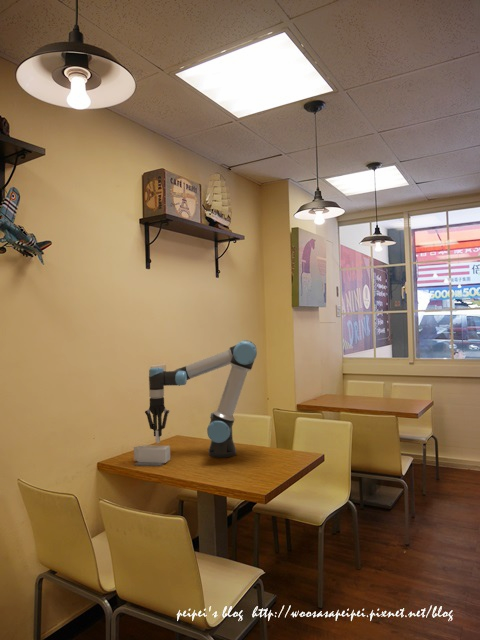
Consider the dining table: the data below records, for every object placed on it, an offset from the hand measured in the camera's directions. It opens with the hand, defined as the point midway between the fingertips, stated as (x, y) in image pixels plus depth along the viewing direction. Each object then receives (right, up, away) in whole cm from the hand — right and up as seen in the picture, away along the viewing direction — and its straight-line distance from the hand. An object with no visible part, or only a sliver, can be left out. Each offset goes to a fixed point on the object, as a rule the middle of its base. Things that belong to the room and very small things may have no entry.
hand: (158, 442), depth 241 cm
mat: (-3, -11, 0) cm, 11 cm away
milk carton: (+6, -6, -1) cm, 8 cm away
